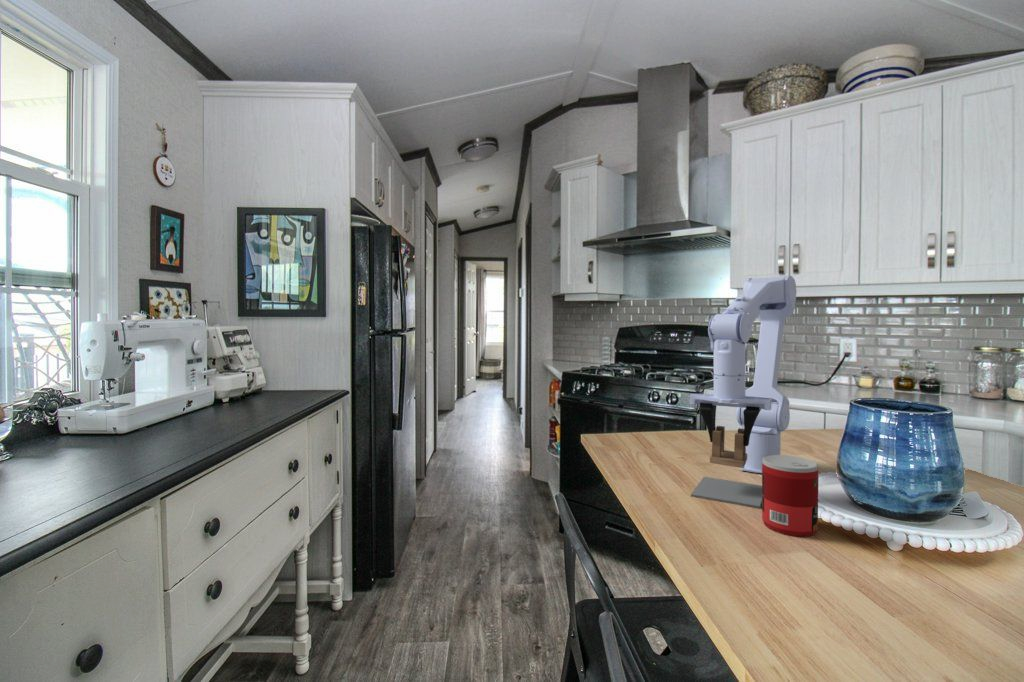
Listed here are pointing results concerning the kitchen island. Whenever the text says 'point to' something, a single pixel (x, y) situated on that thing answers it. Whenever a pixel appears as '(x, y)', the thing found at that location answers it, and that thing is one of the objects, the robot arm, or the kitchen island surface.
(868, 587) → the kitchen island surface
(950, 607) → the kitchen island surface
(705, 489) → the mat
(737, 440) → the stool
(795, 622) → the kitchen island surface
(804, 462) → the canned food
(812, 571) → the kitchen island surface
